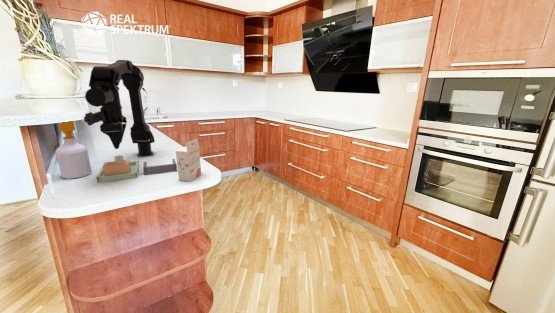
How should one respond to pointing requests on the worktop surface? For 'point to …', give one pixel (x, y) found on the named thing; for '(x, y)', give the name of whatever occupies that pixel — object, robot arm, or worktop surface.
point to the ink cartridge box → (188, 161)
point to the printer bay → (159, 168)
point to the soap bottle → (72, 154)
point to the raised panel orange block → (117, 166)
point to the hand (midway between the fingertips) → (118, 145)
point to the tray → (133, 174)
